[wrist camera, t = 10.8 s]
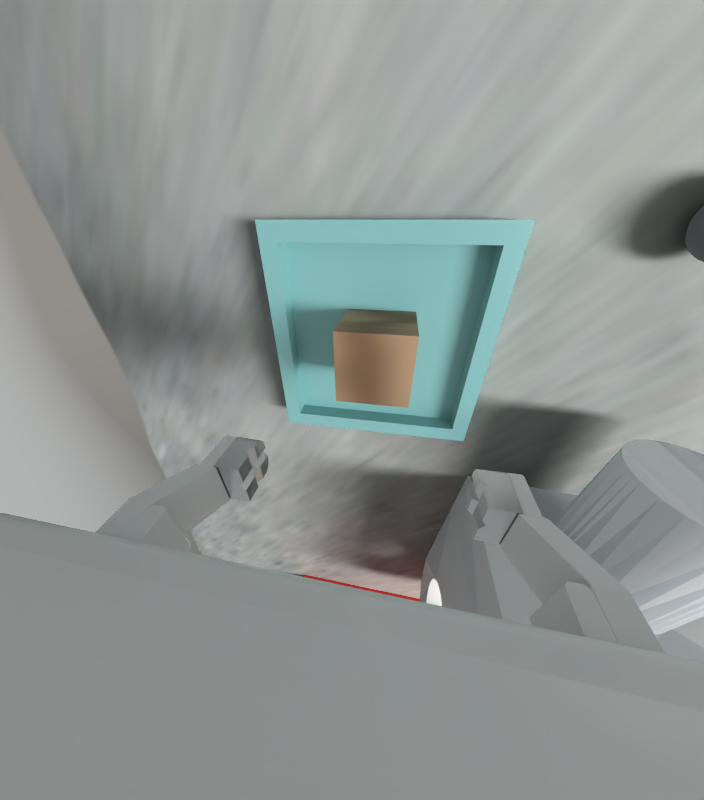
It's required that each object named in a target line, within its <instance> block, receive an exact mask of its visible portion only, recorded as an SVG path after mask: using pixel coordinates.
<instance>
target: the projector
mask: <svg viewBox="0 0 704 800" xmlns="http://www.w3.org/2000/svg"><path fill="white" fill-rule="evenodd" d="M471 482H473V479H472V476H467V478H466V480H465V482H464V484H463V486H462V488H461V490H460V492H459V494H458V496H457V498H456V500H455V502H454V504H453V506H452V508H451V510H450V512H449V514H448V516H447V518H446V520H445V521H444V523H443V525H442V527H441V529H440V531H439V533H438V535H437V537H436V539H435V541H434V543H433V545H432V547H431V549H430V551H429V553H428V555H427V558H426V561H425V565H424V569H423V575H422V582H421V592H420V602H424V603H428V604H433V605H438V606H443V607H447V608H452V609H457V610H461V611H466V612H471V613H475V614H480V615H485V616H490V617H494V618H499V619H504V620H508V621H513V622H518V623H523V624H527V625H531V621H530V617H531V615H532V614H533V613H534V612H535V611H536V610H537V609H538V608H540V607H541V606H542V605H543V604H542V603H541V601H540V600H539V599H538V597H537V596H536V595H535V593H534V592H533V591H532V589H531V588H530V587H529V585H528V584H527V583H526V581H525V580H524V579H523V577H522V576H521V574H520V573H519V572H518V570H517V569H516V568H515V566H514V565H513V564H512V562H511V561H510V560H509V558H508V557H507V556H506V554H505V553H504V552H503V550H502V549H501V548H500V545H498V544H493V543H488V542H483V541H478V540H473V536H472V531H471V526H470V519H471V517H472V514H471V513H470V512H469V511H468V510H467V504H466V491H467V487H468V484H469V483H471ZM529 488H530V490H531V493H532V495H533V497H534V499H535V502H536V504H537V506H538V508H539V511H540V513H541V515H542V517H543V518H548V519H549V520H550V521H551V522H552V523H553V524H554V525H556V526H557V527H558V528H559V529H560V530H561V531H562V532H563V533H565V534H566V535H567V536H568V537H569V538H570V539H571V540H572V541H573V542H575V543H576V544H577V545H578V546H579V547H580V548H581V549H582V550H584V551H585V552H586V553H587V554H588V555H589V556H590V557H591V558H592V559H594V560H595V561H596V562H597V563H598V564H599V565H600V566H601V567H603V568H604V569H605V570H606V571H607V572H608V573H609V574H610V575H611V576H613V577H614V578H615V579H616V580H617V581H618V582H619V583H620V584H622V585H623V586H624V587H625V588H626V589H627V590H628V591H629V592H630V593H631V595H632V597H633V598H634V600H635V602H636V604H637V605H638V607H639V609H640V610H641V612H642V614H643V616H644V617H645V619H646V621H647V622H648V624H649V626H650V628H651V629H652V631H653V633H654V634H655V636H656V638H657V640H658V641H659V643H660V645H661V647H662V648H663V650H664V652H665V653H666V654H668V655H673V656H678V657H683V658H687V659H692V660H697V661H701V662H704V455H703V454H700V453H698V452H695V451H692V450H689V449H687V448H683V447H680V446H676V445H673V444H669V443H665V442H659V441H653V440H634V441H630V442H627V443H626V444H625V445H624V446H623V447H622V448H621V449H620V451H619V452H618V453H617V454H616V455H615V456H614V457H613V458H612V459H611V460H610V461H609V462H608V463H607V464H606V466H605V467H604V468H603V469H602V470H601V471H600V472H599V473H598V474H597V475H596V476H595V477H594V478H593V480H592V481H591V482H590V483H589V484H588V485H587V486H586V487H585V488H584V489H583V490H582V491H581V492H580V494H579V495H572V494H567V493H561V492H556V491H550V490H545V489H539V488H534V487H529Z"/></svg>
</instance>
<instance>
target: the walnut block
mask: <svg viewBox="0 0 704 800" xmlns="http://www.w3.org/2000/svg"><path fill="white" fill-rule="evenodd" d="M333 341H334V366H335V390H336V401H341V402H352V403H362V404H373V405H383V406H393V407H404V408H409V401H410V395H411V388H412V381H413V374H414V368H415V361H416V354H417V348H418V341H419V331H418V323H417V314H416V312H410V311H388V310H367V309H347V311H346V313H345V314H344V316H343V317H342V319H341V320H340V322H339V323H338V325H337V326H336V328H335V329H334V331H333Z"/></svg>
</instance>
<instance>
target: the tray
mask: <svg viewBox="0 0 704 800" xmlns="http://www.w3.org/2000/svg"><path fill="white" fill-rule="evenodd" d="M534 222H535V220H255V224H256V230H257V236H258V242H259V248H260V254H261V259H262V265H263V271H264V277H265V283H266V289H267V295H268V301H269V306H270V312H271V318H272V324H273V330H274V336H275V342H276V347H277V353H278V359H279V365H280V371H281V377H282V383H283V389H284V394H285V400H286V406H287V412H288V418H289V422H293V423H302V424H311V425H320V426H329V427H338V428H347V429H356V430H365V431H374V432H383V433H392V434H402V435H411V436H420V437H429V438H438V439H447V440H456V441H464V439H465V436H466V433H467V430H468V426H469V423H470V420H471V417H472V414H473V411H474V408H475V405H476V402H477V399H478V395H479V392H480V389H481V386H482V383H483V380H484V377H485V374H486V371H487V368H488V364H489V361H490V358H491V355H492V352H493V349H494V346H495V343H496V340H497V337H498V333H499V330H500V327H501V324H502V321H503V318H504V315H505V312H506V309H507V306H508V303H509V299H510V296H511V293H512V290H513V287H514V284H515V281H516V278H517V275H518V272H519V268H520V265H521V262H522V259H523V256H524V253H525V250H526V247H527V244H528V241H529V237H530V234H531V231H532V228H533V225H534ZM347 309H367V310H388V311H410V312H416V314H417V323H418V331H419V341H418V348H417V354H416V361H415V368H414V374H413V381H412V388H411V395H410V401H409V408H404V407H393V406H383V405H373V404H362V403H352V402H341V401H336V390H335V366H334V341H333V331H334V329H335V328H336V326H337V325H338V323H339V322H340V320H341V319H342V317H343V316H344V314H345V313H346V311H347Z"/></svg>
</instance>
